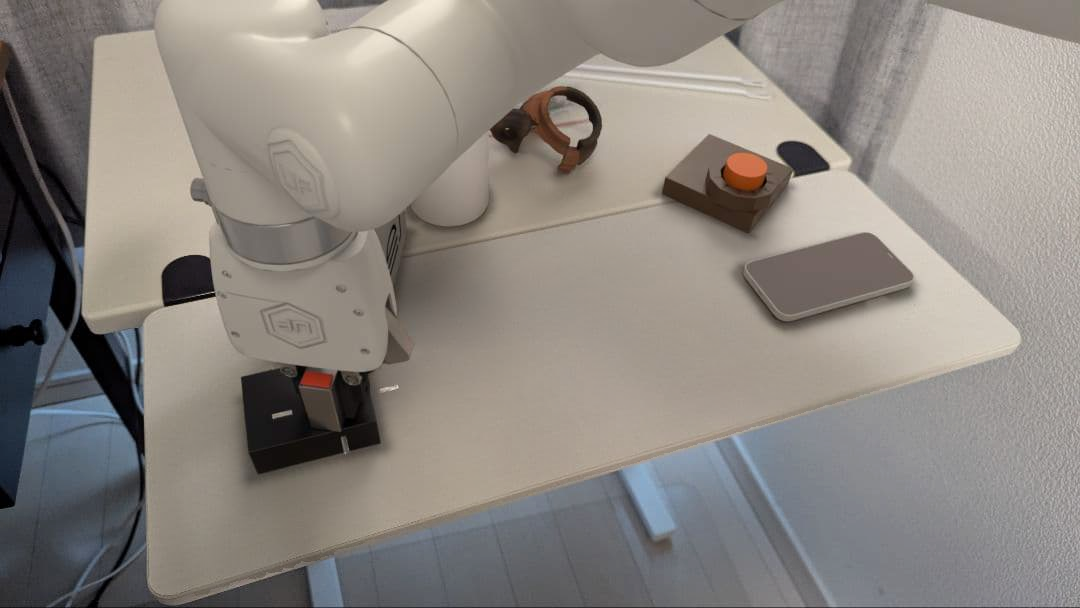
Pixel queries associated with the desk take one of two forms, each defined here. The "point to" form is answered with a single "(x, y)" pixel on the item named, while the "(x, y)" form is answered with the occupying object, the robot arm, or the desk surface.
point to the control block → (723, 184)
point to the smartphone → (827, 276)
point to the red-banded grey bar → (322, 398)
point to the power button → (745, 171)
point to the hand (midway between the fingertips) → (335, 398)
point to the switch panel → (296, 425)
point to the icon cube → (393, 242)
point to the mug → (458, 189)
